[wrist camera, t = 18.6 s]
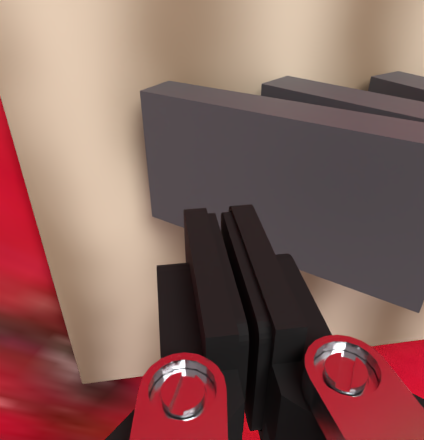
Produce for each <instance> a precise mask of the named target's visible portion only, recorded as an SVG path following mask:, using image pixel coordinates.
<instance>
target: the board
mask: <svg viewBox="0 0 424 440" xmlns="http://www.w3.org/2000/svg"><path fill="white" fill-rule="evenodd" d="M396 71H401V72H405V73H409V74H414V75H418V76H423V77H424V0H0V97H1V100H2V104H3V107H4V111H5V114H6V118H7V121H8V125H9V128H10V132H11V135H12V139H13V142H14V146H15V149H16V153H17V156H18V160H19V163H20V167H21V170H22V174H23V177H24V181H25V184H26V188H27V191H28V195H29V198H30V202H31V205H32V209H33V212H34V216H35V219H36V223H37V226H38V230H39V233H40V237H41V240H42V244H43V247H44V251H45V254H46V258H47V261H48V265H49V268H50V272H51V275H52V279H53V282H54V286H55V289H56V293H57V296H58V300H59V303H60V307H61V310H62V314H63V317H64V321H65V324H66V328H67V331H68V335H69V338H70V342H71V345H72V349H73V353H74V356H75V360H76V363H77V367H78V370H79V374H80V377H81V381H82V384H86V383H94V382H101V381H109V380H117V379H124V378H132V377H139V376H143V375H144V374H145V373H146V371H147V370H148V369H149V368H150V366H152V365H153V364H154V363H156V362H157V361H158V360H160V359H161V356H160V334H159V312H158V291H157V268H156V267H157V265H167V264H178V263H186V258H185V237H184V228H183V227H180V226H177V225H174V224H171V223H169V222H166V221H163V220H160V219H158V218H155V217H152V210H151V200H150V189H149V179H148V169H147V159H146V149H145V139H144V129H143V119H142V109H141V99H140V91H141V90H143V89H146V88H149V87H152V86H155V85H158V84H160V83H163V82H166V81H174V82H180V83H186V84H193V85H199V86H205V87H211V88H217V89H223V90H229V91H235V92H241V93H247V94H253V95H260V96H261V85H262V83H265V82H269V81H272V80H275V79H278V78H281V77H285V76H292V77H297V78H302V79H307V80H313V81H318V82H323V83H328V84H333V85H338V86H344V87H349V88H354V89H359V90H364V91H368V89H369V84H370V79H371V76H376V75H381V74H386V73H391V72H396ZM299 271H300V273H301V275H302V277H303V279H304V281H305V282H306V284H307V286H308V288H309V290H310V292H311V294H312V296H313V298H314V300H315V302H316V304H317V306H318V308H319V310H320V312H321V314H322V316H323V318H324V320H325V322H326V324H327V326H328V328H329V330H330V332H331V334H332V335H344V336H350V337H353V338H356V339H358V340H361V341H363V342H365V343H366V344H368V345H369V346H376V345H384V344H392V343H399V342H407V341H415V340H422V339H424V302H423V304H422V307H421V309H420V312H419V313H417V312H414V311H411V310H408V309H406V308H403V307H400V306H397V305H395V304H392V303H389V302H386V301H384V300H381V299H378V298H375V297H373V296H370V295H367V294H364V293H362V292H359V291H356V290H353V289H351V288H348V287H345V286H342V285H340V284H337V283H334V282H331V281H328V280H326V279H323V278H320V277H317V276H315V275H312V274H309V273H306V272H304V271H301V270H299Z"/></svg>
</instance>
